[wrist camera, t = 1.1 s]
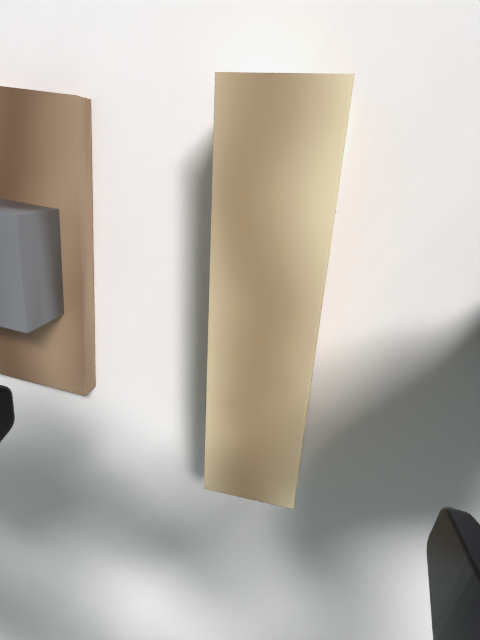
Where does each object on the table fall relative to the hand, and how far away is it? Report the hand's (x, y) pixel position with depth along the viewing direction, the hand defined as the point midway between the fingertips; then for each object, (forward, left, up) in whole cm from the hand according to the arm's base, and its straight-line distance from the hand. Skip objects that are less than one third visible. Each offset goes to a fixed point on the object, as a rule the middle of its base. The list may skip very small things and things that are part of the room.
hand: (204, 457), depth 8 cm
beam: (0, 0, -11) cm, 11 cm away
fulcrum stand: (+13, 0, -11) cm, 17 cm away
